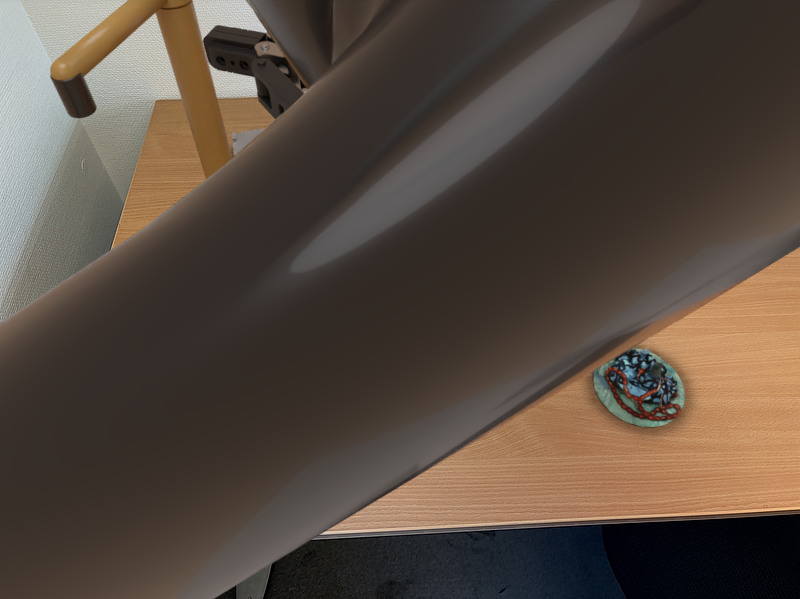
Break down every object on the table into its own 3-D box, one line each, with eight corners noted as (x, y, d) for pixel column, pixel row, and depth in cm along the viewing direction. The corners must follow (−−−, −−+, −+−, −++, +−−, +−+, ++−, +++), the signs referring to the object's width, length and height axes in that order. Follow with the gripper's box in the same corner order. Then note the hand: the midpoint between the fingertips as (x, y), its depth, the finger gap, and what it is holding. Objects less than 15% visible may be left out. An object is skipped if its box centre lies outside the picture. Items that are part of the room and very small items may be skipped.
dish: (698, 353, 61) (671, 359, 56) (688, 423, 62) (661, 435, 56) (620, 339, 67) (589, 343, 61) (612, 404, 67) (580, 413, 62)
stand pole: (237, 217, 74) (175, -13, 52) (255, 229, 72) (200, -1, 51) (216, 232, 72) (144, 1, 51) (235, 245, 71) (168, 13, 49)
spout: (169, 7, 54) (155, -43, 50) (207, 13, 53) (195, -37, 50) (52, 113, 44) (25, 60, 41) (96, 123, 43) (72, 70, 40)
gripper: (503, -20, 38) (245, -59, 41) (450, 102, 30) (135, 42, 33) (488, 88, 43) (263, 48, 46) (440, 214, 36) (174, 155, 39)
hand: (211, 46), depth 40 cm, fingers closed
